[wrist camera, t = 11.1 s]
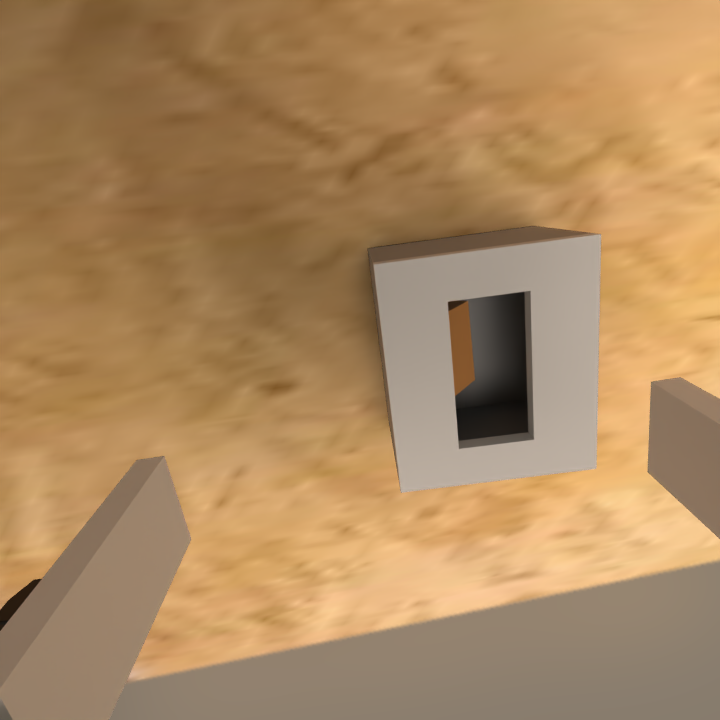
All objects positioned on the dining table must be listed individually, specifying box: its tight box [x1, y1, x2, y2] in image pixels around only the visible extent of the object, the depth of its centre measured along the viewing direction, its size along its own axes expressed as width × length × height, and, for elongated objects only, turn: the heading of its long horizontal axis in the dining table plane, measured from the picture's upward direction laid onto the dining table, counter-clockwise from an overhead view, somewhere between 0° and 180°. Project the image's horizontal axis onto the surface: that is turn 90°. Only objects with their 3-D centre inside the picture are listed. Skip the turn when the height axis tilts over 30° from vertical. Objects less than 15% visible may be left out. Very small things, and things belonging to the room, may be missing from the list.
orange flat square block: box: [448, 301, 475, 396], centre depth 34 cm, size 6×2×6 cm
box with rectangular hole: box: [368, 226, 601, 493], centre depth 33 cm, size 14×12×10 cm
